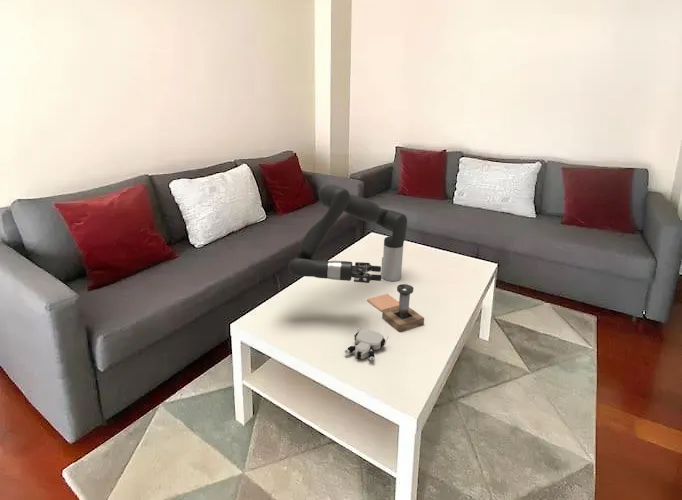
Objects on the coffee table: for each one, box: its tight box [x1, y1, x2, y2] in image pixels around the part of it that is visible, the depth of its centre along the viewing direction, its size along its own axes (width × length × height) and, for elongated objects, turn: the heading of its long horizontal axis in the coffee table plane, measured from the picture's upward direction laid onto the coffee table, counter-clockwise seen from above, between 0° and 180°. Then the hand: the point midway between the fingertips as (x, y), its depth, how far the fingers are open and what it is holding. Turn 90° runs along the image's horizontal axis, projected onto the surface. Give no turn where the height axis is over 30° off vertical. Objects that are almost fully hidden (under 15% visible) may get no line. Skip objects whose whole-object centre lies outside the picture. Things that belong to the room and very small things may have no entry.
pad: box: [366, 293, 399, 313], centre depth 201 cm, size 11×11×1 cm
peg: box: [396, 283, 414, 319], centre depth 185 cm, size 6×6×15 cm
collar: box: [381, 306, 425, 333], centre depth 187 cm, size 12×12×3 cm
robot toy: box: [344, 327, 390, 361], centre depth 168 cm, size 12×4×15 cm
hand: (381, 273), depth 180 cm, fingers open, 8 cm apart
